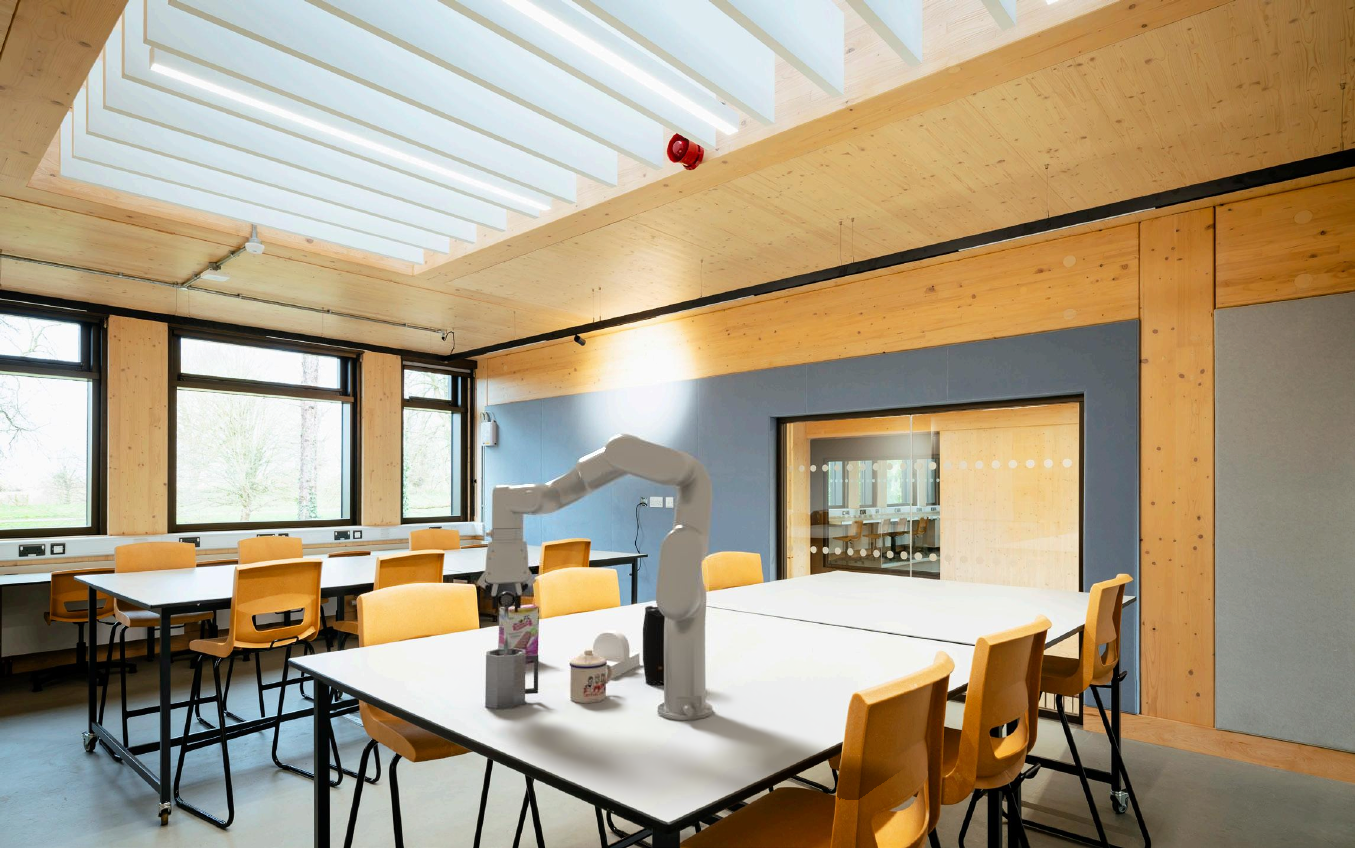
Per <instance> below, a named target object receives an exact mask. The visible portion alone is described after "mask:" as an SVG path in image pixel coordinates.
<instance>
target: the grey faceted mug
mask: <svg viewBox="0 0 1355 848" xmlns="http://www.w3.org/2000/svg"><path fill="white" fill-rule="evenodd" d="M500 655H504V648H503V649H498V648H496V649H491V650H488V651H487V650H486V652H485V691H484V692H485V694H484V697H485V701H484V702H485V704H484V705H485V708H487V707H488V709H492V708H493V710H507V709H508V708H510V709H515V708H518V706H519V707H521V705H522V706H525V705H526V695H530V694H531V695H532V694H539V653H538V654H534V655H526V652H525V649H518V648H508V656H500ZM526 660H534V662H533V687H532V688H529V687H528V688H526Z"/></svg>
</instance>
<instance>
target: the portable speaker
mask: <svg viewBox="0 0 1355 848" xmlns="http://www.w3.org/2000/svg"><path fill="white" fill-rule="evenodd" d="M644 612H645V613H644V618H643V626H642V664H643V671H644V677H645V684H647V685H649V686H654V685H655V683H664V622H665V616H664V615H663V614H662V613H661V612H660V611H659V609H658V607H657V606H653V605H648V606H645V608H644Z"/></svg>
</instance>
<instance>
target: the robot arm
mask: <svg viewBox="0 0 1355 848" xmlns="http://www.w3.org/2000/svg"><path fill="white" fill-rule="evenodd" d="M629 475H630V476H633V477H636V478H638V479H639V478H640V479H642V480H645V481H649V482H652V483H654V484H658V485H661V486H665V487H675V489H676V501H675V505H674V518H673V524H672V530H671V531H669V532H668V533H667V534H666V535H665V537H664V539H663V540H662V544H661V545H660V552H659V559H658V570H657V578H656V585H655V586H656V587H655V603H656V607H658V609H659V611H660V612H661V613H662V614H663V615H664V616H665V622H664V682H663V694H664V696H663V700H664V701H663V702H662V703H661V704H659V705H658V706H657V714H658V715H659V716H661V717H663V718H666V719H670V720H677V721H690V720H691V721H692V720H701V719H704V718H708V717H710V715H712V714H713V711H714V710H713V706H712V705H711V704H710V703H709V702H707V701H706V700H707V699H706V697H707V696H706V695H707V694H706V693H707V692H706V690H707V688H706V686H707V685H706V684H707V683H706V618H707V617H706V613H707V612H706V611H707V590H706V586H705V584H704V581H702V579H701V574H702V573H701V571H702V564H703V561H704V560H705V559H706V557H707V556H708V552H709V544H710V543H709V542H710V540H709V539H710V529H711V519H712V518H711V515H712V503H713V485H712V481H711V476H710V475H709V473H708V471H707V469H706V467H705V466H704V465H703V464H702V463H701V462H700V461H699V460H698V459H697V458H695V457H694V456H692V455H690V454H689V453H687V452H684V451H682V450H679V449H678V450H677V449H674V448H670V447H667V446H663V445H660V444H656V443H653V442H650V441H646V440H644V439H641V438H639V437H637V436H635V435H632V434H627V433H619V434H616V435H614V436H613V437H611V438H610V439H609V440H608V441H607V442H606V443H605V446H604V447H602V448H600V449H598V450H596V451H594V452H592V453H590V454H587V455H585V456H583V457H581V458H580V459H578V460H577V462H576V464H575V466H574V468H572V469H571V470H570V471H569V472H566V473H565V474H563V475H562V476H559V477H557V478H556V479H553V480H551V481H549V482H546V483H530V484H523V485H522V484H521V485H519V484H499V485H495V486H494V488H492V493H491V495H492V496H491V497H492V498H491V504H492V505H491V529H490V530H488V531H485V537H488V538H490V539H491V541H488V543H487V549H486V556H485V569H484V571H483V573H482V574H481V576H480V577H479V579H478V581H477V582H476V584H477V585H478V586H479V587H481V588H483V589H484V590H486V591H487V593H489V594H490V595H491V596H492V599H491V600H492V601H491V602H492V603H491V604H492V605H491V609H492V610H495V613H494V614H498V613H499V602H498V598H499V595H498V587H499V584H515V589H516V591H515V594H514V596H515V602H514V606H515V612H518V608H521V606H522V603H521V602H522V601H521V599H522V594H523V593H524V592H525V591H527V589H529V587H531V586H533V585H534V584H535V583H536V581H537V579H536V578H535V576H534V575H533V574H532V571H531V570H530V569H529V550H528V545H527V540H524V515H527V516H540V515H548V514H553V513H555V512H558V511H559V510H561V509H564V508H565V507H568V506H570V505H572V504H574V503H575V502H578V501H579V500H581V499H584V498H585V497H586V496H589V495H591V494H593V493H594V492H595V491H598V490H600V489H601V488H603V487H605V486H608V485H610V484H612V483H614V482H616V481H618V480H620V479H621V478H624V477H627V476H629ZM522 583H523V584H522ZM490 584H492V585H490Z"/></svg>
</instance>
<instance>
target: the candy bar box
mask: <svg viewBox="0 0 1355 848" xmlns="http://www.w3.org/2000/svg"><path fill="white" fill-rule="evenodd" d="M498 613H499V615H498V616H499V617H498V643H497V644H498V645H497V647H498V648H497V649H503V648H504V608H503V607H498ZM539 622H540V606H538V605H536V604H523V605H522V604H521V608H518V612H515V605H512V606H511V607H509V619H508V648H518V649H525V652H526V655H534V654H538V655H539V633H540V632H539V630H540V629H539V628H540V626H539V625H540V623H539ZM530 661H534V660H526V662H529V663H531V662H530Z"/></svg>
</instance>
